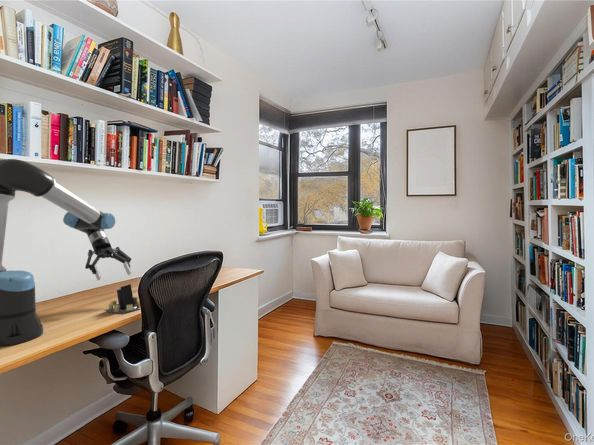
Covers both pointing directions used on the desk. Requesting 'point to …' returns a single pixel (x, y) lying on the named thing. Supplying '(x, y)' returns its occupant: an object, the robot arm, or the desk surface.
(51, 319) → the desk surface
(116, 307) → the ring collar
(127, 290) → the speaker
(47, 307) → the desk surface
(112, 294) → the desk surface
